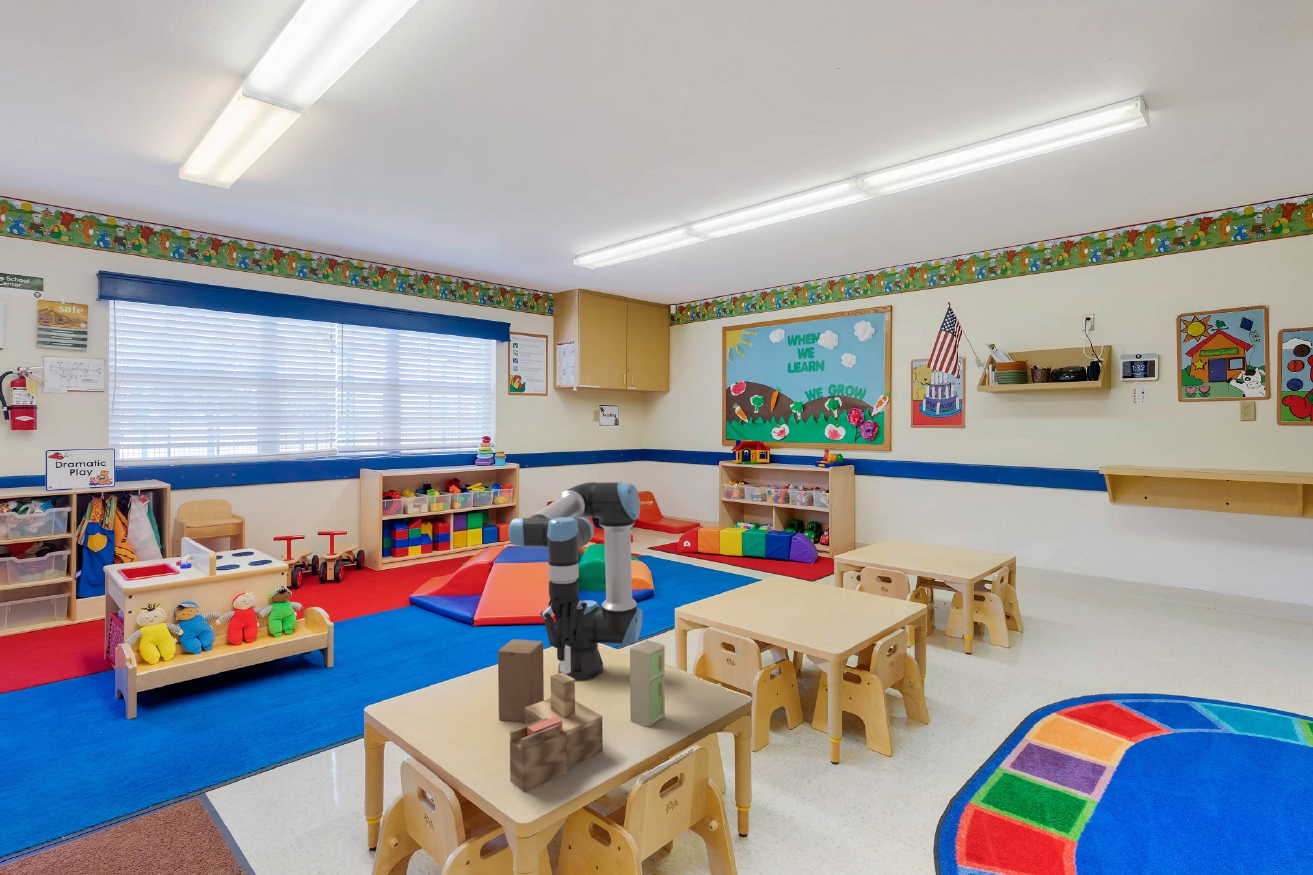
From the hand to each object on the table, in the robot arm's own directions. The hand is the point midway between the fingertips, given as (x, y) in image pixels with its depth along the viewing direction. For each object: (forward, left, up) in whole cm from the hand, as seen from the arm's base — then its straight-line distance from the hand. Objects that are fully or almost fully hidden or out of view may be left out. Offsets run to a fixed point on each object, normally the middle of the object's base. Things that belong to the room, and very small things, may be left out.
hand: (565, 671), depth 160 cm
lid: (-2, -4, -13) cm, 14 cm away
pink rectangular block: (+8, +4, -12) cm, 15 cm away
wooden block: (-3, -28, -22) cm, 35 cm away
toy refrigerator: (-28, 0, -22) cm, 35 cm away
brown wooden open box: (+4, -3, -21) cm, 22 cm away
